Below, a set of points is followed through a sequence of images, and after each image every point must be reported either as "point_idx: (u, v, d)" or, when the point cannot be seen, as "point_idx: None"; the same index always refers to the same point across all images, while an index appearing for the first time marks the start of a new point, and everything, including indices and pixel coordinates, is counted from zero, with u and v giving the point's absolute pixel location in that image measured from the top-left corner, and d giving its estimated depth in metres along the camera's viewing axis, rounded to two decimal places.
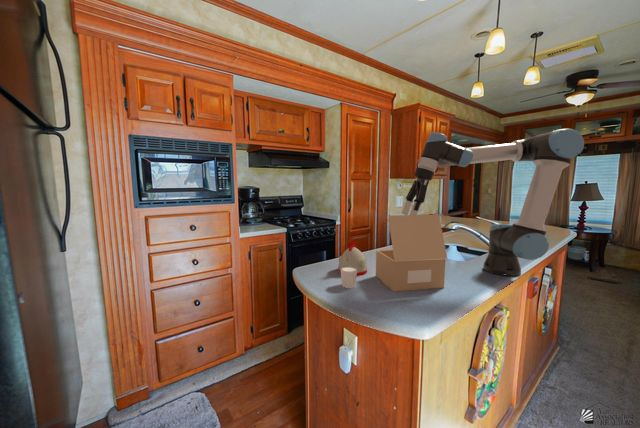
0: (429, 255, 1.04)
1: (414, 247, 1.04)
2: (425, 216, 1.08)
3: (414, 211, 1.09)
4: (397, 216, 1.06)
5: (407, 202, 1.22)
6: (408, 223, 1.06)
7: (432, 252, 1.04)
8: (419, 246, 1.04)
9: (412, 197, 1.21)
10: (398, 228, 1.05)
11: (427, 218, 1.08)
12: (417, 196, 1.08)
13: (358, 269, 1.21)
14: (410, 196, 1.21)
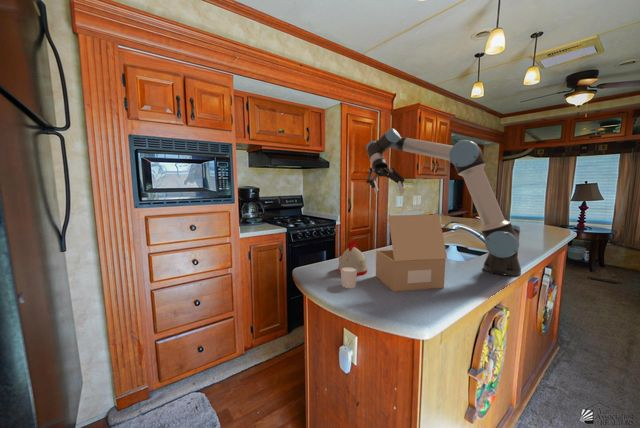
0: (429, 255, 1.04)
1: (414, 247, 1.04)
2: (425, 216, 1.08)
3: (374, 187, 1.31)
4: (397, 216, 1.06)
5: (397, 184, 1.35)
6: (408, 223, 1.06)
7: (432, 252, 1.04)
8: (419, 246, 1.04)
9: (395, 179, 1.36)
10: (398, 228, 1.05)
11: (427, 218, 1.08)
12: None
13: (358, 269, 1.21)
14: (394, 180, 1.37)
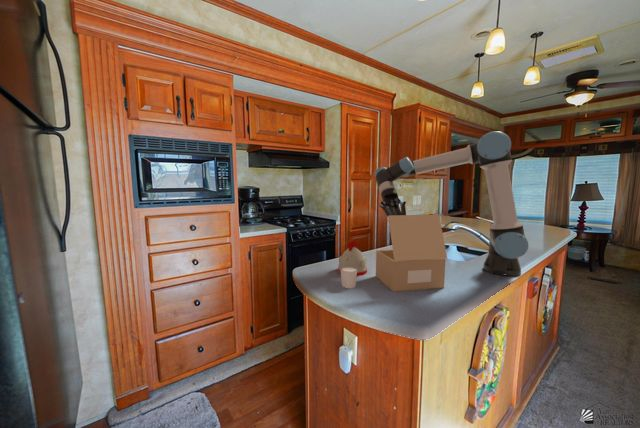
0: (429, 255, 1.04)
1: (414, 247, 1.04)
2: (425, 216, 1.08)
3: None
4: (397, 216, 1.06)
5: None
6: (408, 223, 1.06)
7: (432, 252, 1.04)
8: (419, 246, 1.04)
9: (398, 214, 1.22)
10: (398, 228, 1.05)
11: (427, 218, 1.08)
12: None
13: (358, 269, 1.21)
14: None
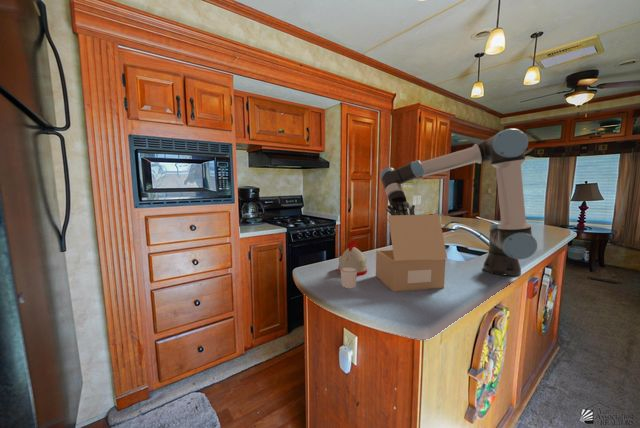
0: (429, 255, 1.04)
1: (414, 247, 1.04)
2: (425, 216, 1.08)
3: None
4: (397, 216, 1.06)
5: None
6: (408, 223, 1.06)
7: (432, 252, 1.04)
8: (419, 246, 1.04)
9: None
10: (398, 228, 1.05)
11: (427, 218, 1.08)
12: None
13: (358, 269, 1.21)
14: None
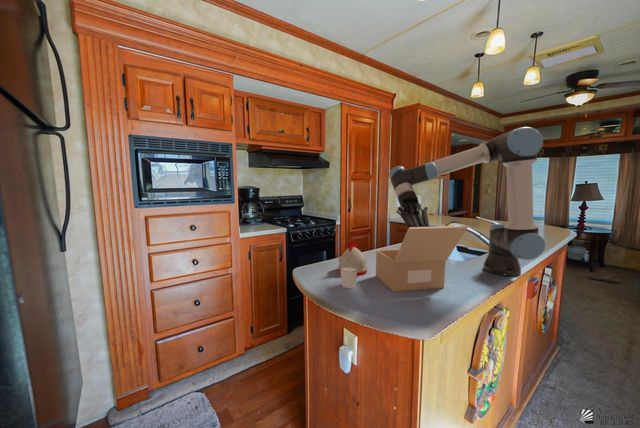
0: (431, 258, 1.03)
1: (420, 253, 1.00)
2: (451, 229, 0.93)
3: None
4: (419, 229, 0.90)
5: None
6: (427, 235, 0.93)
7: (435, 256, 1.02)
8: (426, 252, 1.00)
9: (419, 222, 1.04)
10: (413, 239, 0.94)
11: (451, 231, 0.93)
12: None
13: (358, 269, 1.21)
14: (418, 223, 1.05)
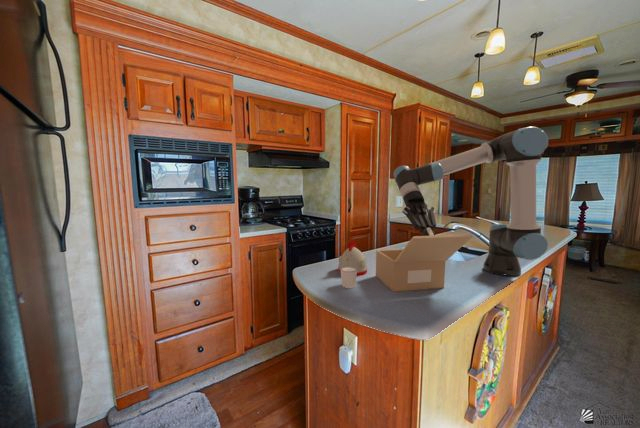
0: (431, 259, 1.03)
1: (421, 256, 0.99)
2: (455, 237, 0.90)
3: None
4: (423, 238, 0.88)
5: None
6: (430, 243, 0.91)
7: (436, 258, 1.02)
8: (427, 255, 0.99)
9: (426, 222, 1.00)
10: (416, 246, 0.92)
11: (456, 239, 0.91)
12: None
13: (358, 269, 1.21)
14: (425, 223, 1.01)
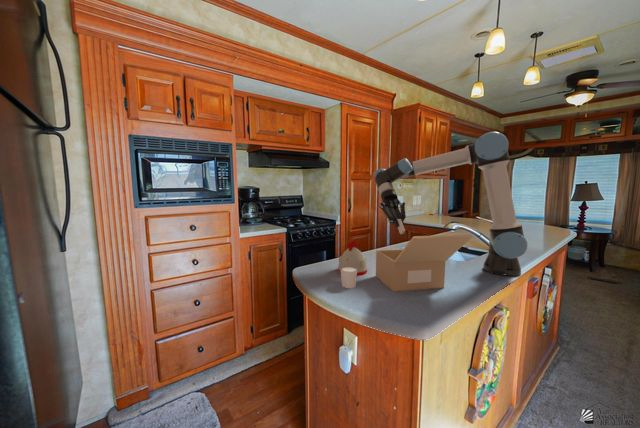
0: (431, 259, 1.03)
1: (421, 256, 0.99)
2: (455, 237, 0.90)
3: (399, 227, 1.19)
4: (423, 238, 0.88)
5: None
6: (430, 243, 0.91)
7: (436, 258, 1.02)
8: (427, 255, 0.99)
9: (398, 215, 1.23)
10: (416, 246, 0.92)
11: (456, 239, 0.91)
12: None
13: (358, 269, 1.21)
14: (397, 216, 1.24)
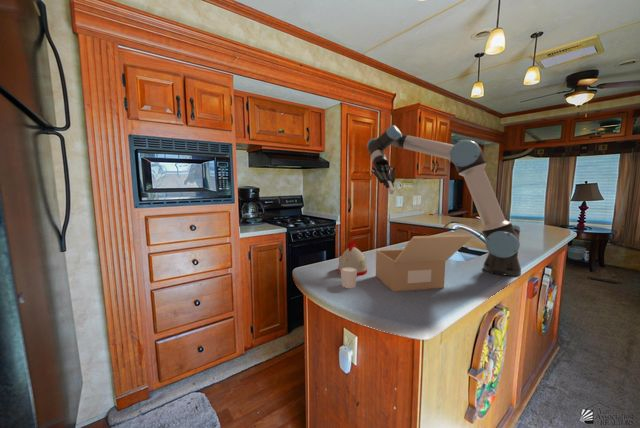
0: (431, 259, 1.03)
1: (421, 256, 0.99)
2: (455, 237, 0.90)
3: (389, 188, 1.29)
4: (423, 238, 0.88)
5: None
6: (430, 243, 0.91)
7: (436, 258, 1.02)
8: (427, 255, 0.99)
9: (388, 177, 1.33)
10: (416, 246, 0.92)
11: (456, 239, 0.91)
12: None
13: (358, 269, 1.21)
14: (387, 179, 1.34)
